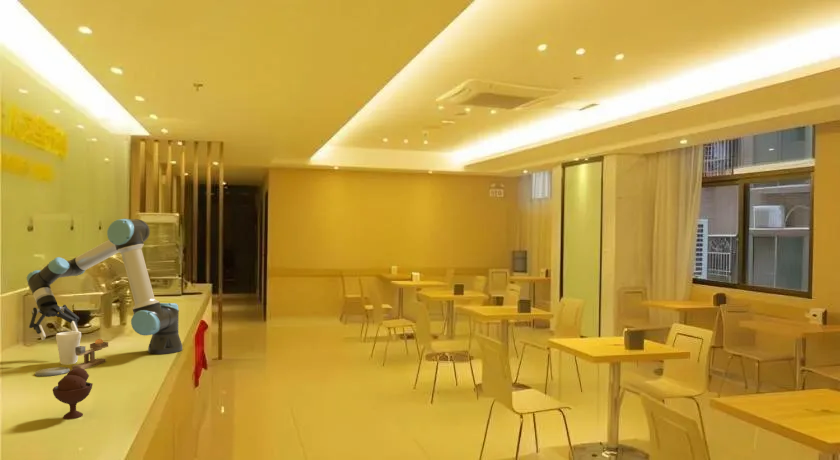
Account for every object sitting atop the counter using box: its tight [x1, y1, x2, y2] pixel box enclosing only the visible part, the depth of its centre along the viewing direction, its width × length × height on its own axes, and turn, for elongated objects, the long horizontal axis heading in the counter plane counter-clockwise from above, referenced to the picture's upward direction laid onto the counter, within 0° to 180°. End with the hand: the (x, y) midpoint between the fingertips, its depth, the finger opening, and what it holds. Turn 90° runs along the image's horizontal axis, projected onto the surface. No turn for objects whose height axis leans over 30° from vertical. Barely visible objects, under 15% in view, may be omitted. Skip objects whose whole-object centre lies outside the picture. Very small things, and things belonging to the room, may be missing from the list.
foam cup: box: [55, 330, 82, 365], centre depth 261 cm, size 10×9×13 cm
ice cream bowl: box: [52, 368, 94, 420], centre depth 188 cm, size 11×11×15 cm
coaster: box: [34, 366, 71, 377], centre depth 244 cm, size 12×12×1 cm
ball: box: [94, 338, 104, 344], centre depth 262 cm, size 3×3×3 cm
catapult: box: [71, 341, 109, 370], centre depth 256 cm, size 5×16×9 cm, turn 170°
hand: (60, 336), depth 264 cm, fingers open, 13 cm apart
